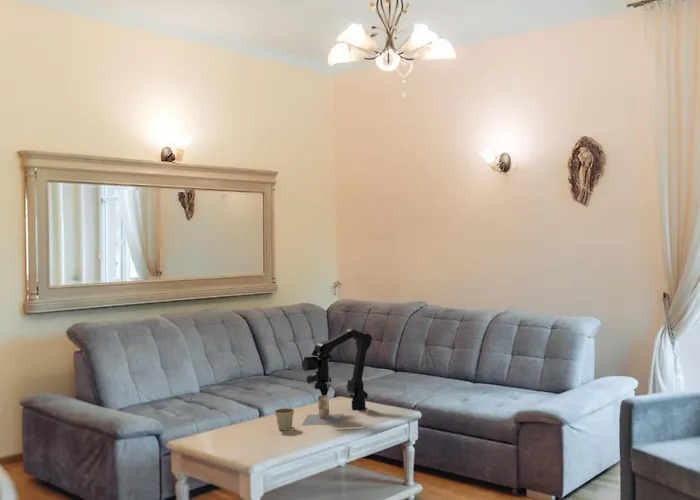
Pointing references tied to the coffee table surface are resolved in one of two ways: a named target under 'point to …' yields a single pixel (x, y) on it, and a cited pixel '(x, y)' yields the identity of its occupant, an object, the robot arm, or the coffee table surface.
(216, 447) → the coffee table surface
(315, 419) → the mat
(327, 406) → the birch block
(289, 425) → the flower pot
